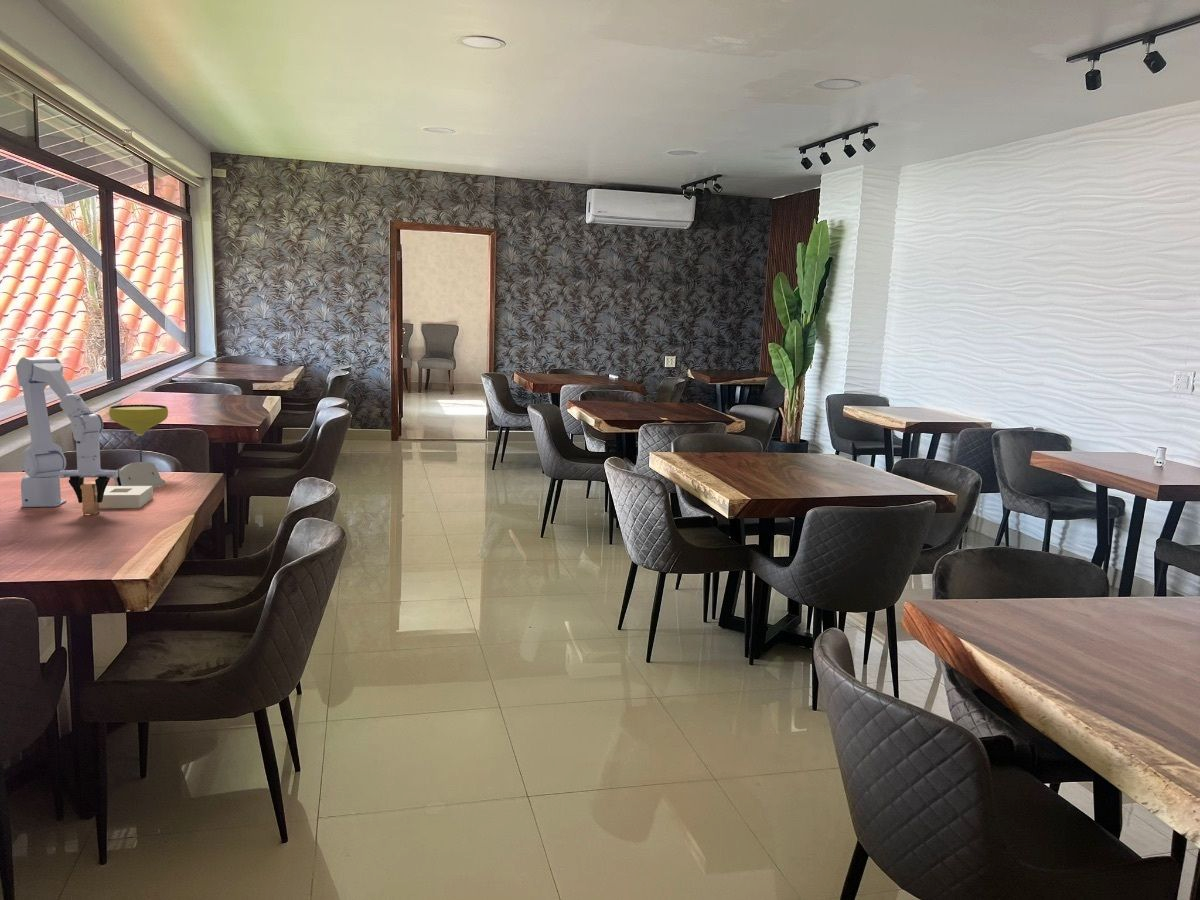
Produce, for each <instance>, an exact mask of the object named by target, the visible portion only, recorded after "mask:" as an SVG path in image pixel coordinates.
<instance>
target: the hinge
mask: <svg viewBox="0 0 1200 900" xmlns="http://www.w3.org/2000/svg"><path fill="white" fill-rule="evenodd" d="M117 470H118V477H117V478H113V481H114V484H115V485H114V486H153V489H157V488H156V487H158V488H160V487H159V486H162V487H164V486H163V485H166V486H167V484H166V480H164V479H163V478H162V477H161V476H160V473H159V470H158V469H157V466H156V464H155V463H153V462H149V461H142V462H140V461H137V462H131V463H128V464H125V465H122V466H120V467H119V468H118V469H117Z"/></svg>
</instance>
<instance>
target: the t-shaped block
mask: <svg viewBox="0 0 1200 900" xmlns="http://www.w3.org/2000/svg"><path fill="white" fill-rule="evenodd" d="M80 489H82V503H81V504H82V515H83V514H96V513H97V514H99V513H100V508H99V503H98V502H97V488H96V483H95V480H94V481H93V480H92V481H89V480H88V481H85V482H84V484H82V485H80ZM98 512H99V513H98ZM97 514H96V515H97Z"/></svg>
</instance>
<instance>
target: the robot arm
mask: <svg viewBox="0 0 1200 900" xmlns="http://www.w3.org/2000/svg"><path fill="white" fill-rule="evenodd" d="M15 370H16V375H17V382H18V385H19V387H22V394H23V399H24V405H25V413H26V416H27V424H28V429H29V436H30V442H31V444H30V445H28V447H26V449H24V450H23V451H22V470H23V471H24V473H25V474H26V475H25V476H23V477H22V478H21V481H20V494H21V495H20V496H21V505H20V507H21V508H31V507H32V508H33V507H34V508H36V507H37V508H38V507H39V508H41V507H42V508H46V507H47V508H49V507H53V508H54V507H55V508H56V507H58V506H60V505H62V504H63V503H65V502H67V499H62V493H61V479H65V478H69V479H68V483H69V486H71V487H72V489H73V490H74V492H75V495H76V498H77V501H78V504H82V489H80V485H82V484H84V483H85V482H84V480H85V478H87V479H88V478H89V479H90V478H95V480H94V481H95V483H96V488H97V502H98V503H101V502H102V501H103V495H104V491H105V488H106V486H108V483H109V482H110V480H111V478H112V479H114V478H117V477H118V469H116V470H115V469H102V468H101V467H102V466H101V450H100V449H101V447H100V445H101V444H100V433H101V432H102V431H103V430H104V420H103V418H102V416H101V414H100V413H97V412H95V411H93V410H91V408H89V406H88V405H87V404H86V402H85V401H84V399H83V398H82V396H81V395H79V394H76V393H73V391H72V389H71V387H70V385H69V384H68V382H67V380H66V378H65V377H64V375H63V373H64V367H63V365H62V363H61V361H60V360H59V358H58V357H55V356H49V357H25V356H22V357H20V358H19V360H18V361H17V363H16V365H15ZM47 386H48V387H50V389H51V390H52V391H53V392H54V393H55V394H56V396H57V397H58V398H59V400H60V401H59V407H60V408H61V409H62V411H63V412H64V413H65V415H66V417H68V420H69V421H70V424H69V428H70V430H71V432H72V435H73V436H72V437H73V440H74V441H75V445H76V446H75V447H76V448H75V450H76V464H77V465H76V469H69V470H68V469H66V467H67V458H66V456H65V455H64V452H63V448H62V447H61V446H60V445H59V444H57V443H55V442H53V438H52V432H51V426H50V424H51V423H50V419H49V413H48V407H47V400H46V396H45V389H46V388H47ZM45 452H46V453H45Z"/></svg>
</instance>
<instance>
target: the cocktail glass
mask: <svg viewBox="0 0 1200 900" xmlns="http://www.w3.org/2000/svg"><path fill="white" fill-rule="evenodd" d="M168 415H169V410H168V407H167V406H165V405H162V404H161V405H159V404H124V405H123V404H122V405H113V406H110V407H109V418H110V419H111V421H113V422H115V423H116V424H118V425H120V426H122V427H126V428H128V429H129V430H132V431H133V432H134V433H135V435H136V436H138V442H139V443H138V444H139V445H138V446H139V447H138V448H139V462H143V451H142V436H144V434H145V433H146V432H147V431H148V430H150V429H151V428H152V427H155V426H157V425H159V424H161V423H163V422H164V421H165V420H166V419H167V418H168Z"/></svg>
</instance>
